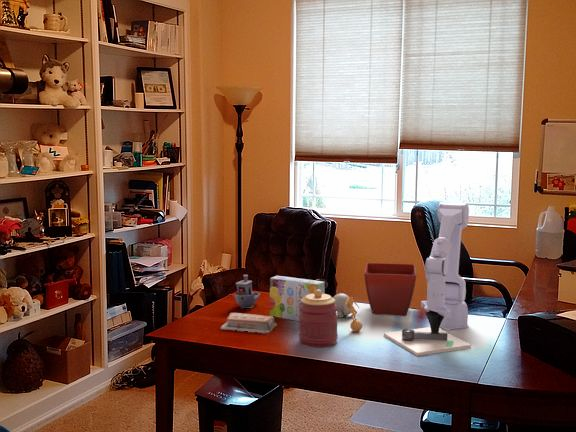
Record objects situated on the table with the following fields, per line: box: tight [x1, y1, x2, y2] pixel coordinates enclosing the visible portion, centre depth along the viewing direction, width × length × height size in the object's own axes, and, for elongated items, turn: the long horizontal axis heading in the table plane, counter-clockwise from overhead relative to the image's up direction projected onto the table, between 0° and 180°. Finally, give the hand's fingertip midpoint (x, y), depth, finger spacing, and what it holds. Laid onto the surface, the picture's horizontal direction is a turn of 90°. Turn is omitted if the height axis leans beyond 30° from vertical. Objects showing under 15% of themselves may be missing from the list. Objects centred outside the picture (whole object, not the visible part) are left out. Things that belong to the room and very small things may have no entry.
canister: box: [298, 290, 339, 348], centre depth 213 cm, size 13×13×18 cm
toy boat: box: [233, 274, 261, 309], centre depth 256 cm, size 15×8×13 cm, turn 158°
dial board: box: [383, 326, 472, 357], centre depth 213 cm, size 20×21×1 cm
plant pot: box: [363, 262, 417, 317], centre depth 249 cm, size 19×19×17 cm
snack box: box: [269, 275, 326, 322], centre depth 240 cm, size 21×6×15 cm, turn 58°
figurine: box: [345, 296, 363, 333], centre depth 225 cm, size 8×6×12 cm
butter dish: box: [220, 312, 278, 334], centre depth 230 cm, size 18×5×10 cm
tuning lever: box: [401, 328, 448, 341], centre depth 212 cm, size 14×4×3 cm, turn 82°
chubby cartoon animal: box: [332, 292, 352, 319], centre depth 244 cm, size 7×12×8 cm, turn 57°
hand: (434, 333), depth 213 cm, fingers closed, pressing on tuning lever
